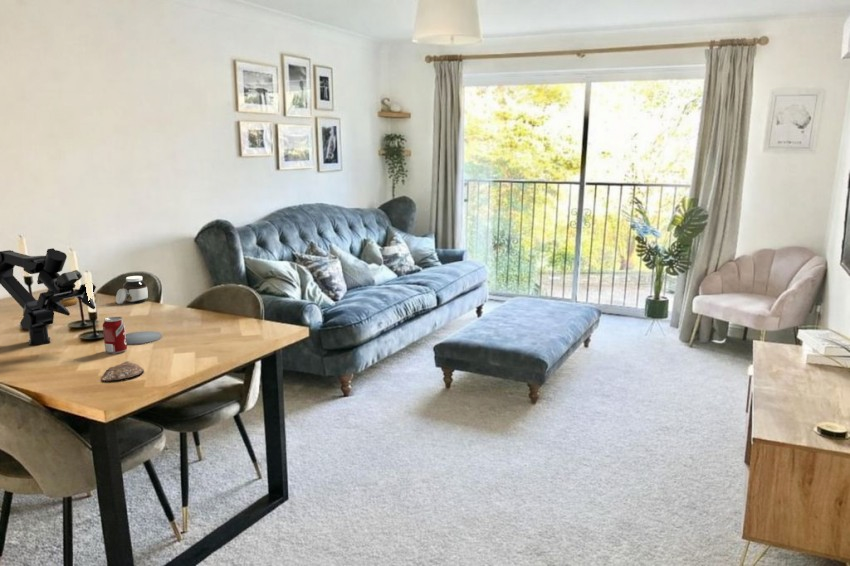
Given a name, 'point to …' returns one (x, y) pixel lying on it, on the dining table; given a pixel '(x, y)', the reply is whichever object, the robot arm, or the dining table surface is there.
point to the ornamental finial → (69, 301)
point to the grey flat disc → (142, 337)
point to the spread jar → (133, 291)
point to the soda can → (114, 335)
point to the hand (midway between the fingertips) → (82, 311)
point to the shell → (122, 372)
